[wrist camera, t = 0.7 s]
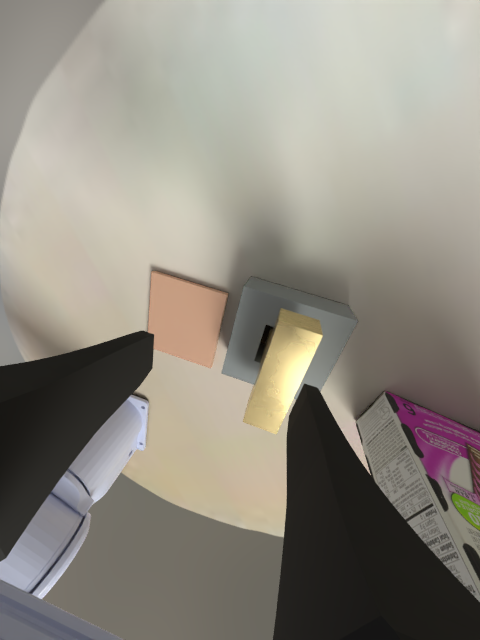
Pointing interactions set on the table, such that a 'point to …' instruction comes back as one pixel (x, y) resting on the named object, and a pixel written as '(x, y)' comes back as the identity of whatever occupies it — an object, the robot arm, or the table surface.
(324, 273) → the table surface
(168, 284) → the terracotta pad
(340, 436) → the robot arm
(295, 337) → the brass rectangular peg
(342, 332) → the slate socket block
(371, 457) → the candy bar box
